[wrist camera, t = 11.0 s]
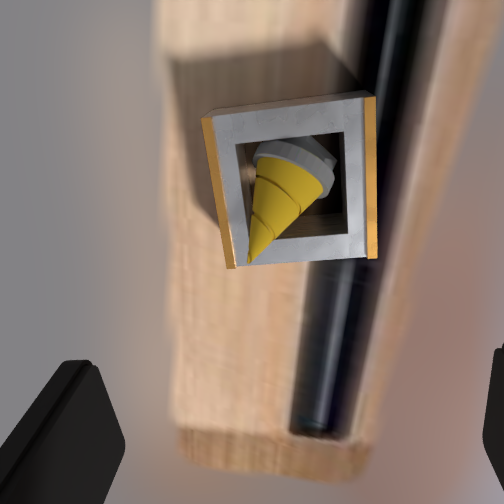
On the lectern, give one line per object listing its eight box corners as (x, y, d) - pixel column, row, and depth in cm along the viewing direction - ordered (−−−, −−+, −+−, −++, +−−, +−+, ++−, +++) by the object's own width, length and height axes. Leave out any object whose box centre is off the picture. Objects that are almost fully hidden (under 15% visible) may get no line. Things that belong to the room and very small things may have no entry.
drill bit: (349, 160, 30) (290, 288, 28) (280, 135, 31) (219, 257, 30) (355, 118, 25) (283, 272, 23) (272, 91, 26) (198, 235, 24)
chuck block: (213, 109, 29) (200, 118, 25) (364, 90, 28) (375, 96, 24) (235, 243, 33) (227, 269, 29) (367, 232, 32) (377, 258, 28)
